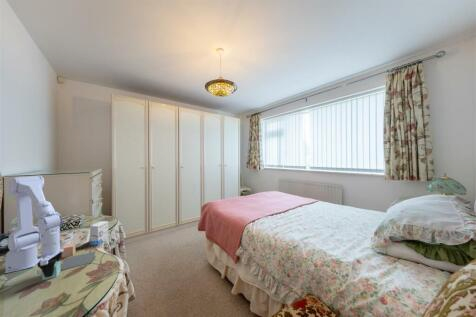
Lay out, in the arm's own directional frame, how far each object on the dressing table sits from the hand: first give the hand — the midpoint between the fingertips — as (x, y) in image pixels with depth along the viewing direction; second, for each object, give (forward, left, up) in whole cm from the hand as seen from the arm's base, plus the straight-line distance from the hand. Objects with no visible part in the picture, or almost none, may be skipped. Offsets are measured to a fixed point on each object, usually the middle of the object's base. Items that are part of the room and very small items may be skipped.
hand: (51, 272), depth 79 cm
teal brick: (0, 0, -2) cm, 2 cm away
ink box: (+13, +28, -2) cm, 31 cm away
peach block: (+1, +19, -2) cm, 19 cm away
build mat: (+7, +9, -1) cm, 11 cm away
